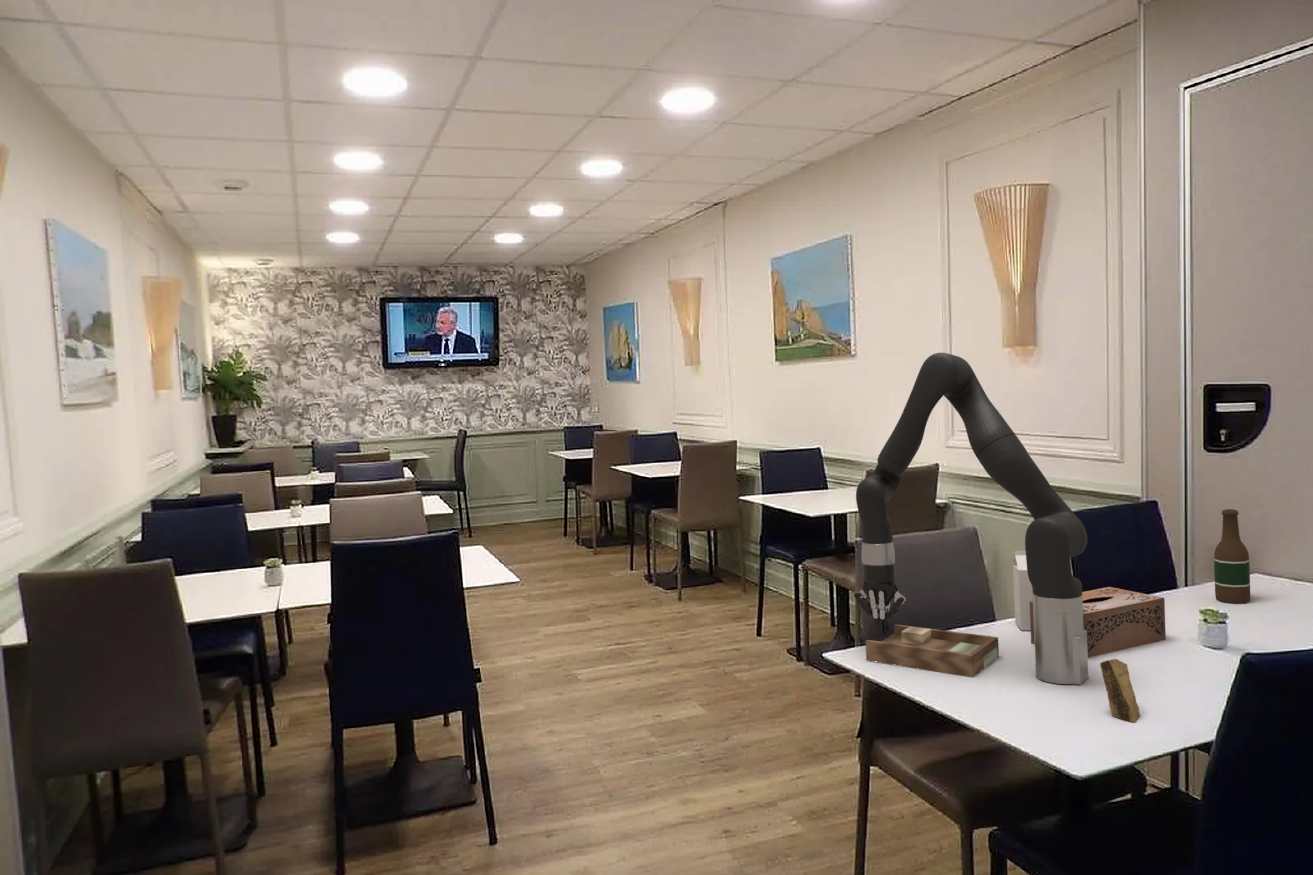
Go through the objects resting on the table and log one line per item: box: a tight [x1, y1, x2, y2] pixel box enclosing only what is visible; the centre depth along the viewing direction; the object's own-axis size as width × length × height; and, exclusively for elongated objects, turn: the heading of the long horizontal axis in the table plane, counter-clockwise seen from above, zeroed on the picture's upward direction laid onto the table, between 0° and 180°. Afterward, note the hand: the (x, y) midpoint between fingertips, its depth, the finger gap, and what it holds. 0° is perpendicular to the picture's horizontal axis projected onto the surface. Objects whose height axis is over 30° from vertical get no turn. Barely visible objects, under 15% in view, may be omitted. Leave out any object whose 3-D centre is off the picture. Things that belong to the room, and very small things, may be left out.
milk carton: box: [1012, 550, 1033, 631], centre depth 218 cm, size 7×7×19 cm
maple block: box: [901, 626, 932, 645], centre depth 203 cm, size 5×5×2 cm
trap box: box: [865, 623, 1000, 678], centre depth 197 cm, size 24×16×4 cm, turn 50°
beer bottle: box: [1213, 508, 1251, 605], centre depth 231 cm, size 8×8×24 cm
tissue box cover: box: [1030, 586, 1167, 659], centre depth 203 cm, size 26×14×10 cm, turn 113°
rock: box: [1099, 658, 1141, 724], centre depth 160 cm, size 11×9×10 cm
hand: (881, 633), depth 209 cm, fingers closed
